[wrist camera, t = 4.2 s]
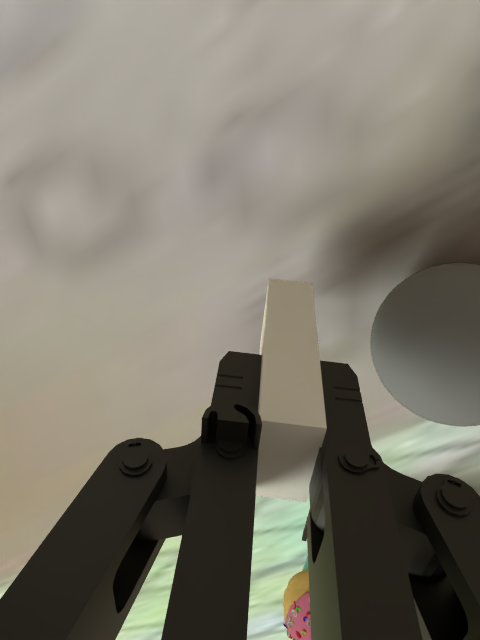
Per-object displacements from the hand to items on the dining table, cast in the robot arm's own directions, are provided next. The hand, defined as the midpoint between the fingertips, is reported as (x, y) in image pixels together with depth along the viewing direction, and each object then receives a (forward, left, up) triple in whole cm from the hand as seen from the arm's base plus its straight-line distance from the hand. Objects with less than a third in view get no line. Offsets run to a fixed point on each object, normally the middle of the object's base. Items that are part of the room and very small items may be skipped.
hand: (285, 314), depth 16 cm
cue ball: (0, +6, +1) cm, 6 cm away
